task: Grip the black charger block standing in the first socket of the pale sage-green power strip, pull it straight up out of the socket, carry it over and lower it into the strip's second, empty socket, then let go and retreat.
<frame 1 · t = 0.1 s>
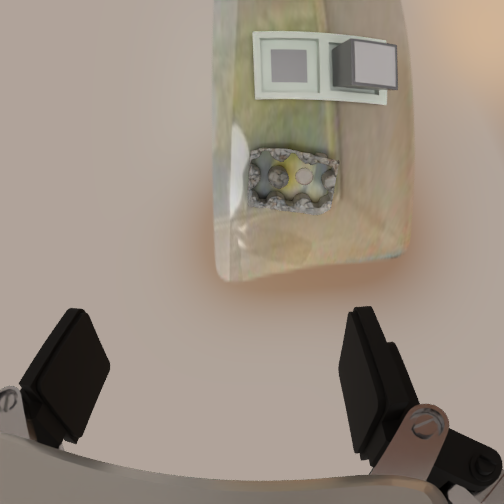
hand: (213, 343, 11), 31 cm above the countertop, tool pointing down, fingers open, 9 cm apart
egg carton: (290, 175, 39), on the countertop
power strip: (317, 68, 32), on the countertop
charger: (351, 69, 30), point 2 cm above the countertop, touching power strip
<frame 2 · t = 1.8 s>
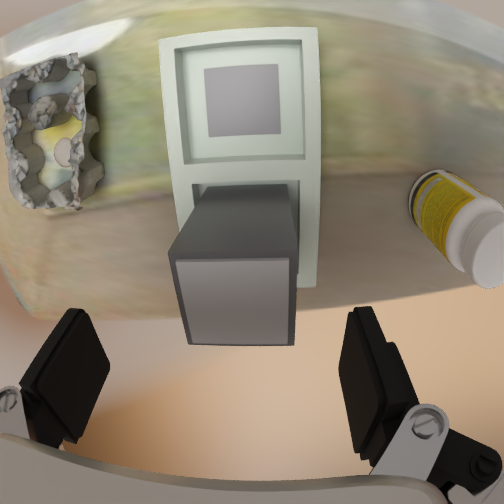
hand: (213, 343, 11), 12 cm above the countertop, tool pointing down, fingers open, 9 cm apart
egg carton: (64, 130, 19), on the countertop
power strip: (248, 155, 19), on the countertop
supplement bottle: (434, 198, 20), on the countertop
charger: (248, 221, 19), point 2 cm above the countertop, touching power strip
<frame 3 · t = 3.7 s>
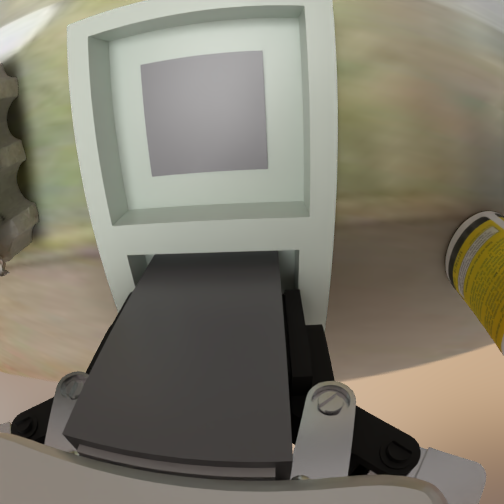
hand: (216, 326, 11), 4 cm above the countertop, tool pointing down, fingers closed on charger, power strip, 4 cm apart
power strip: (219, 197, 13), on the countertop
supplement bottle: (475, 248, 14), on the countertop
charger: (221, 300, 13), point 2 cm above the countertop, touching gripper, power strip
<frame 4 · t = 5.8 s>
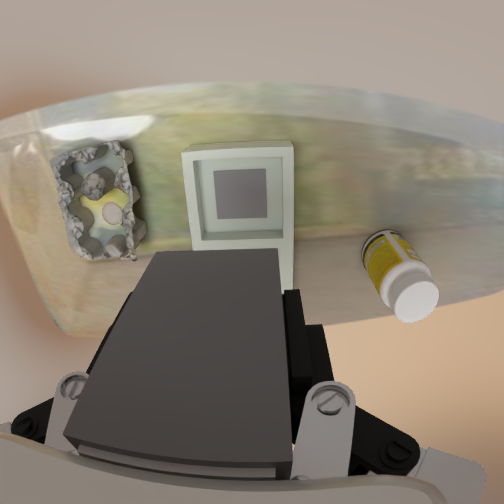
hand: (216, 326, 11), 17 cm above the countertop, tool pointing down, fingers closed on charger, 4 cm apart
egg carton: (108, 195, 27), on the countertop
power strip: (244, 226, 28), on the countertop
supplement bottle: (383, 250, 29), on the countertop
charger: (221, 300, 13), point 15 cm above the countertop, touching gripper
when the fingers open (5 cm above the countertop, at t = 8.2 s): charger stays where it is, resting on power strip.
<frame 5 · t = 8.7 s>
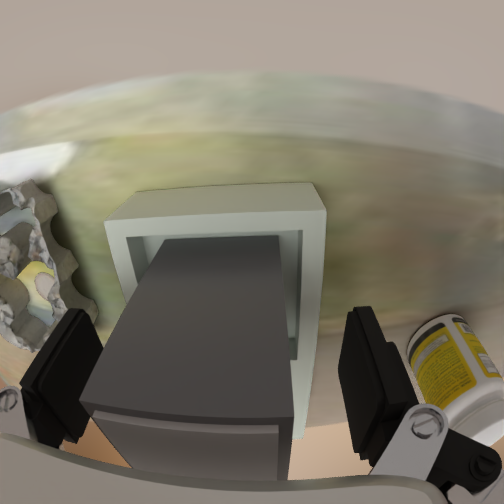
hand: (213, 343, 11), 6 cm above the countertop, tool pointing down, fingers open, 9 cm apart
egg carton: (39, 261, 16), on the countertop
power strip: (233, 319, 17), on the countertop
supplement bottle: (435, 337, 18), on the countertop
charger: (225, 286, 14), point 2 cm above the countertop, touching power strip
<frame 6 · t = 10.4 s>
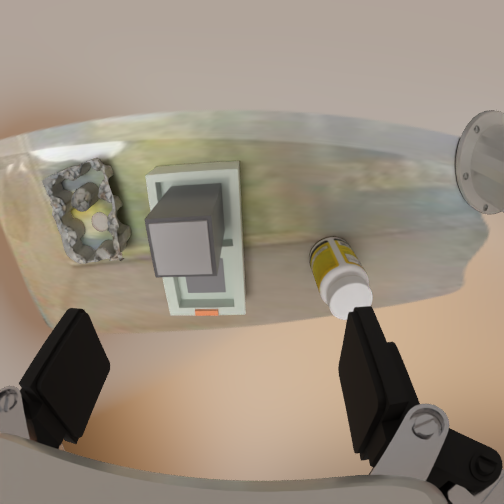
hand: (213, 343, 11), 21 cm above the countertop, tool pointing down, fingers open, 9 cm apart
egg carton: (95, 206, 31), on the countertop
power strip: (203, 235, 32), on the countertop
supplement bottle: (329, 255, 34), on the countertop
charger: (198, 208, 29), point 2 cm above the countertop, touching power strip
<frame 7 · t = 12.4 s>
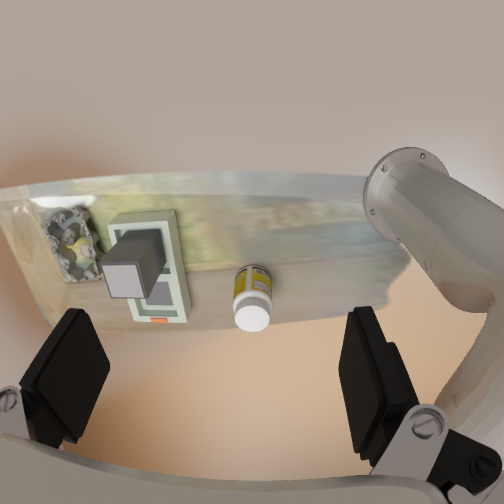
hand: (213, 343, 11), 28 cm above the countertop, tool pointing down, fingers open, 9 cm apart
egg carton: (81, 239, 41), on the countertop
power strip: (155, 263, 42), on the countertop
supplement bottle: (253, 278, 43), on the countertop
charger: (146, 246, 39), point 2 cm above the countertop, touching power strip
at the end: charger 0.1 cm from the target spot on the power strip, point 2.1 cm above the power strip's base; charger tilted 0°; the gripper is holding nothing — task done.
